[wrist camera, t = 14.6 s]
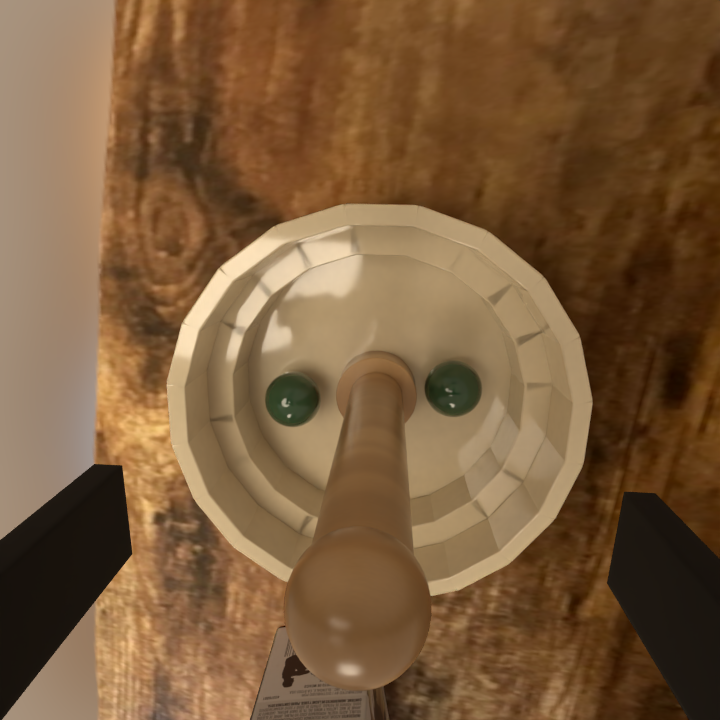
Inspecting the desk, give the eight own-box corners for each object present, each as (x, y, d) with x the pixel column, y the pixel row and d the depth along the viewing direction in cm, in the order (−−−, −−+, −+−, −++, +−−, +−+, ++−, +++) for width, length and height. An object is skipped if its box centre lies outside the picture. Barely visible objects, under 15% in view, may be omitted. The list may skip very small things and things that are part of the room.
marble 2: (446, 356, 26) (424, 351, 24) (496, 370, 25) (478, 366, 22) (431, 407, 26) (408, 406, 24) (480, 424, 25) (461, 425, 22)
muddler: (339, 348, 25) (243, 566, 9) (417, 351, 25) (468, 580, 9) (338, 421, 26) (250, 738, 10) (413, 424, 26) (451, 754, 10)
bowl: (207, 206, 25) (151, 198, 19) (566, 215, 24) (623, 209, 18) (223, 518, 29) (181, 589, 23) (526, 535, 28) (561, 614, 22)
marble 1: (267, 359, 25) (266, 391, 23) (322, 363, 26) (327, 394, 23) (263, 403, 26) (262, 437, 24) (315, 406, 27) (319, 440, 25)
